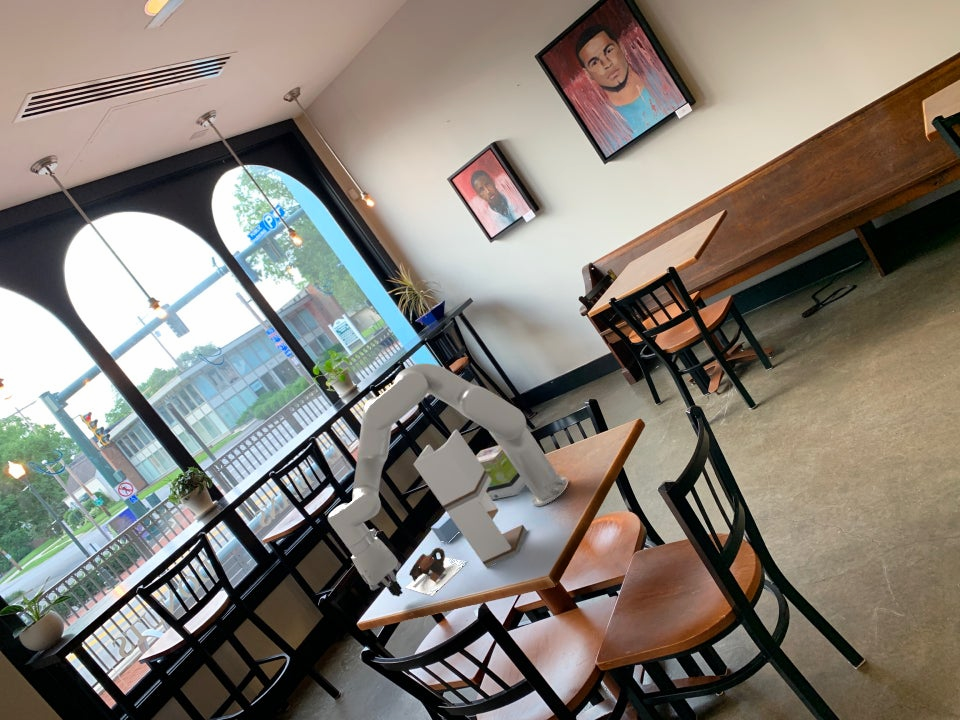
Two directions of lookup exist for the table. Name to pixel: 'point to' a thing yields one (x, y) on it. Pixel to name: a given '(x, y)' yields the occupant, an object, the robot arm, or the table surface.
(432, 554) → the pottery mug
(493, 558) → the notched white pillar
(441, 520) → the slate blue cube
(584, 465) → the table surface
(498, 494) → the tea box
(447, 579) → the letter mat
